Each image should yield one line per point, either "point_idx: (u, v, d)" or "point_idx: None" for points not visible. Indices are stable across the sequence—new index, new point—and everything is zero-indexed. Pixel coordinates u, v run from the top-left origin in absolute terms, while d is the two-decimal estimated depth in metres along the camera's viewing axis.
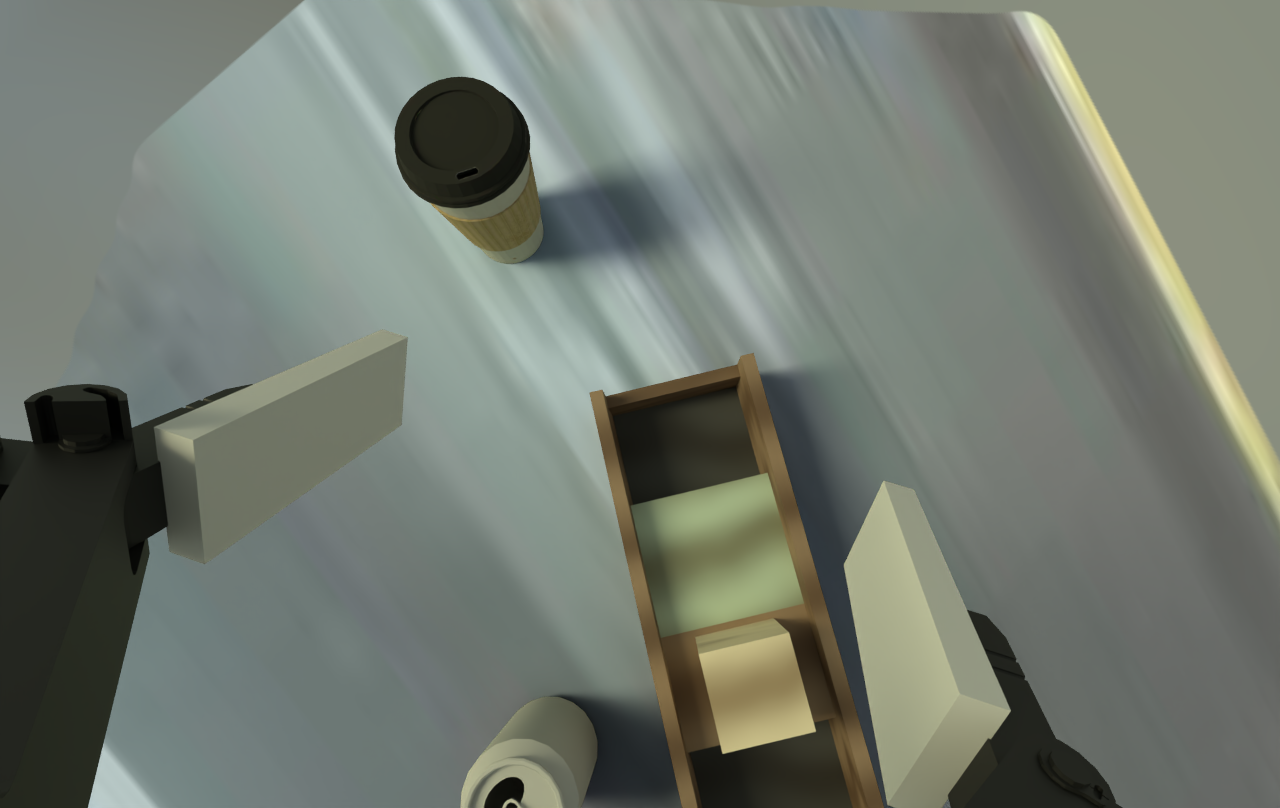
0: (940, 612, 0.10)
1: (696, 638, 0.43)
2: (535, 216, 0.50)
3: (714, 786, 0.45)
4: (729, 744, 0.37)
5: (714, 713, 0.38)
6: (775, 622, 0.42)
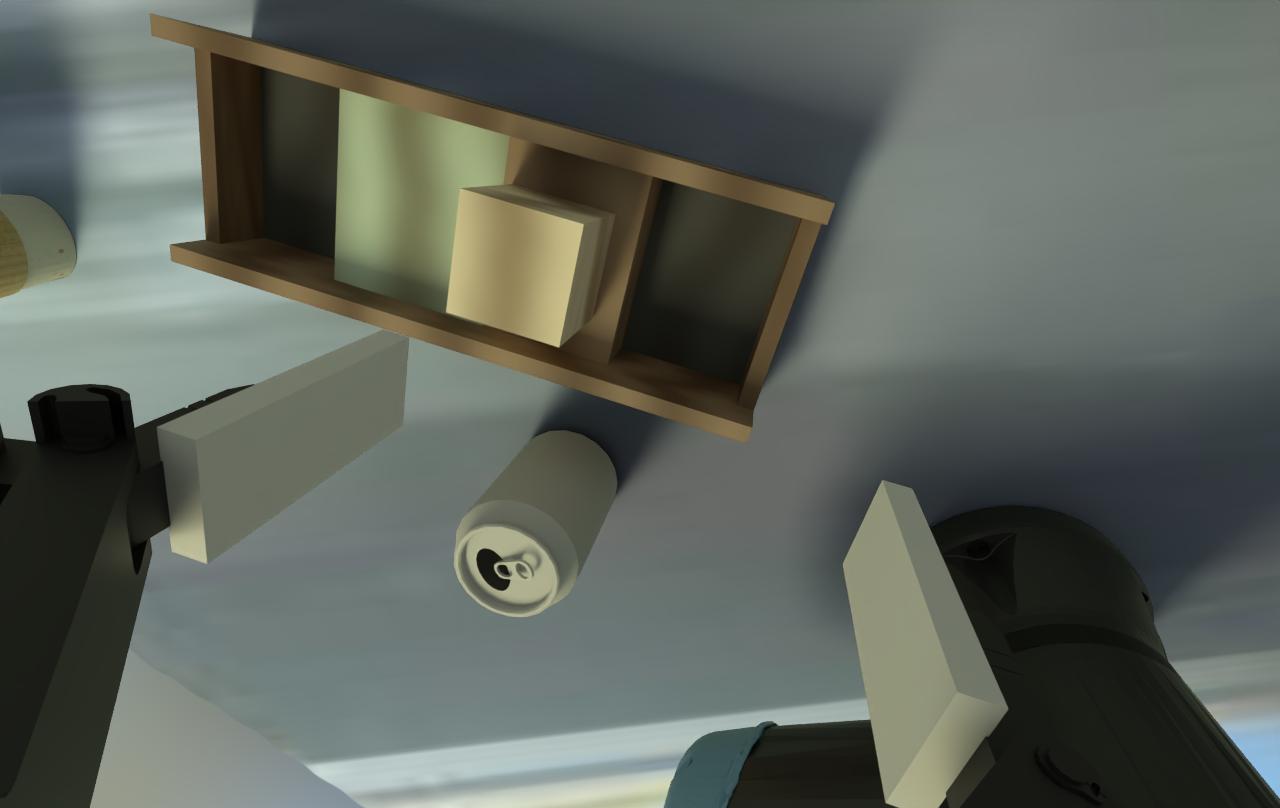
0: (938, 611, 0.10)
1: None
2: None
3: (684, 347, 0.38)
4: (553, 334, 0.29)
5: (514, 331, 0.29)
6: None
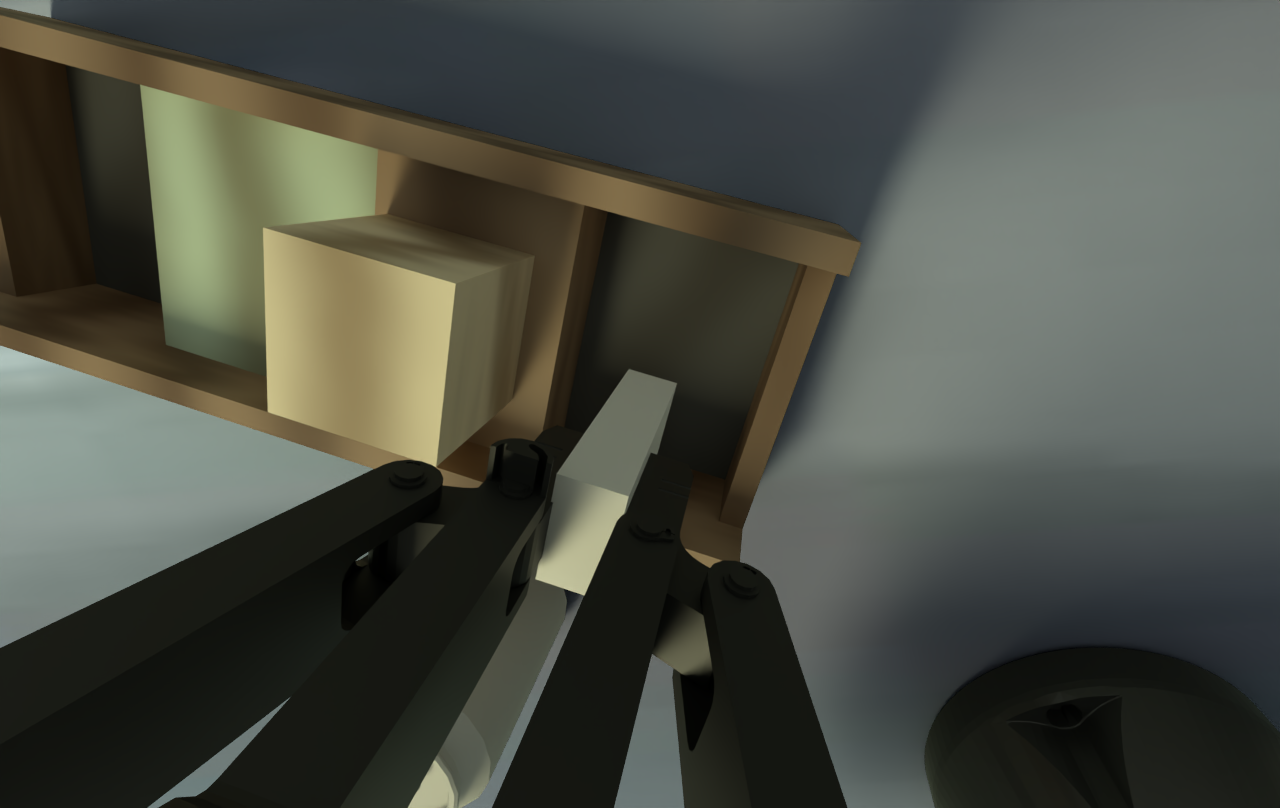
0: (623, 446, 0.13)
1: None
2: None
3: None
4: (425, 447, 0.19)
5: (368, 442, 0.19)
6: None
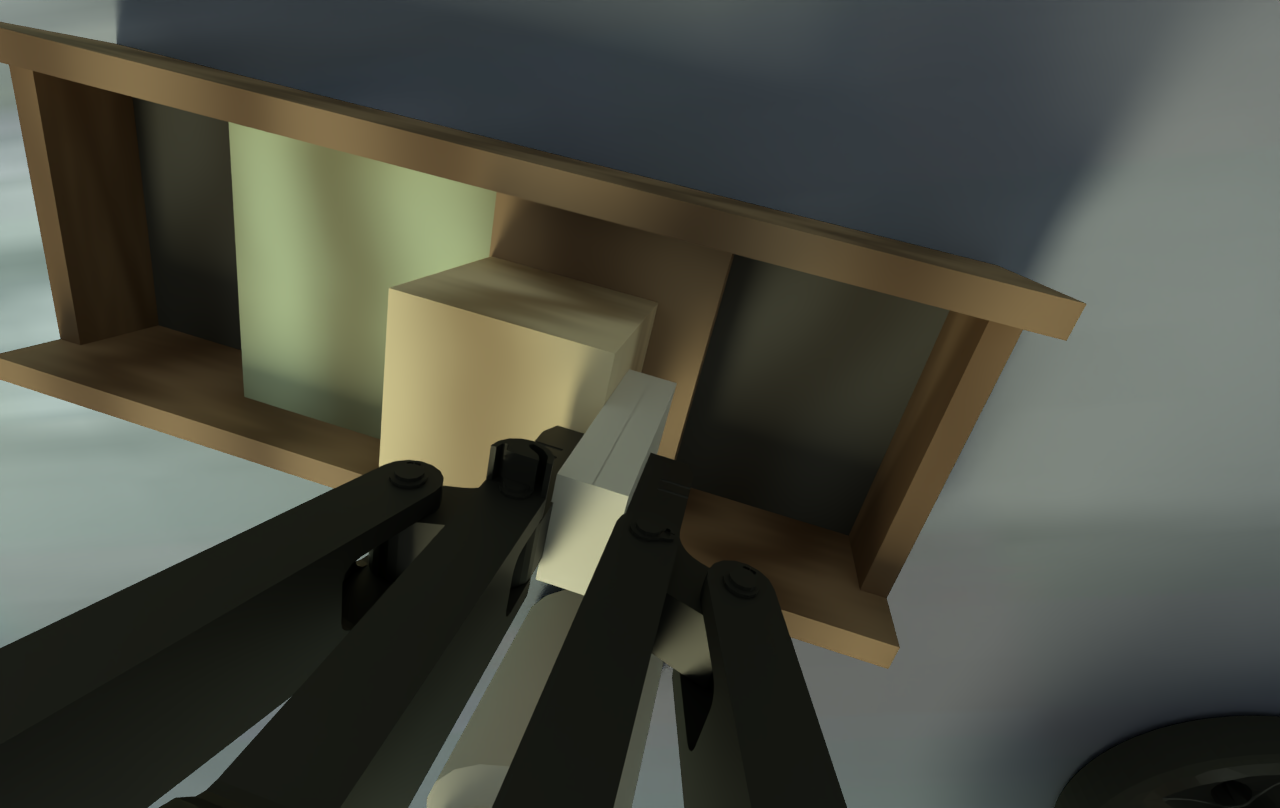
0: (622, 446, 0.13)
1: None
2: None
3: (765, 483, 0.25)
4: None
5: None
6: None
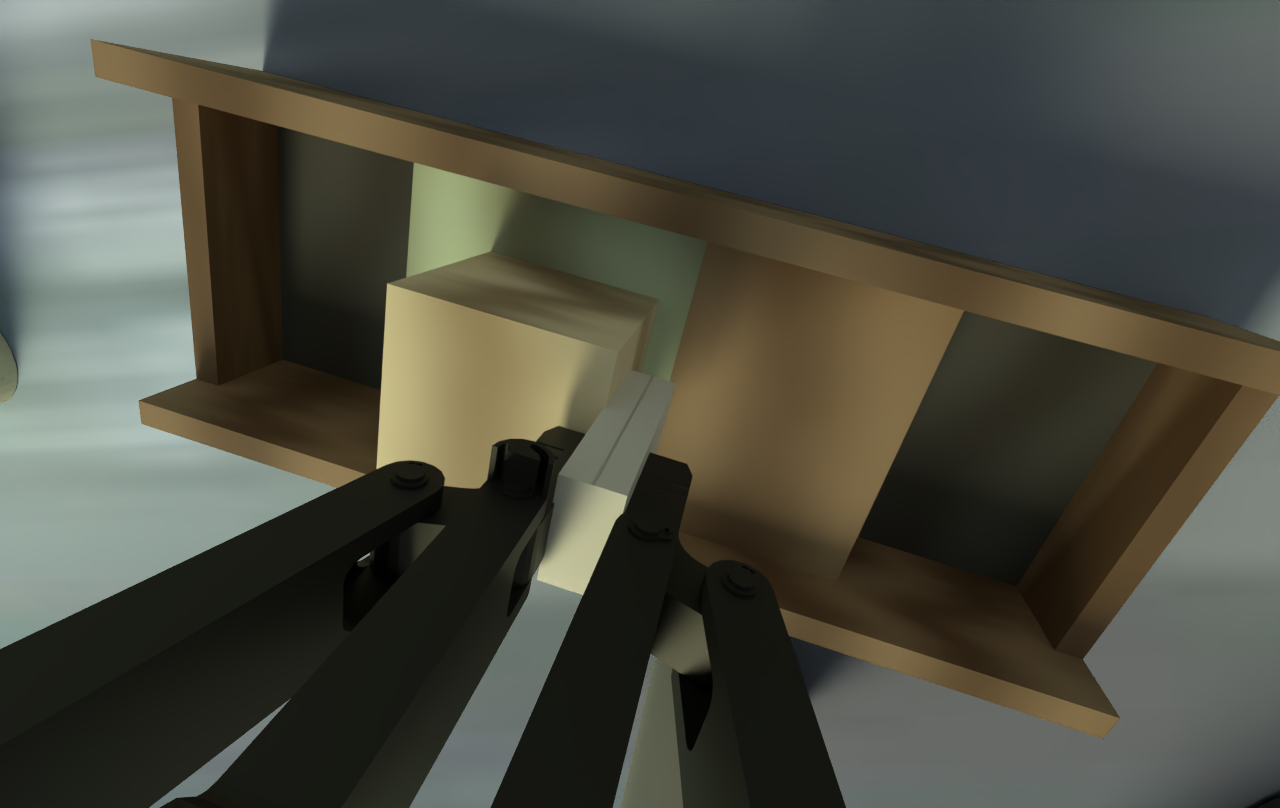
0: (622, 446, 0.13)
1: None
2: None
3: (932, 532, 0.25)
4: None
5: None
6: None
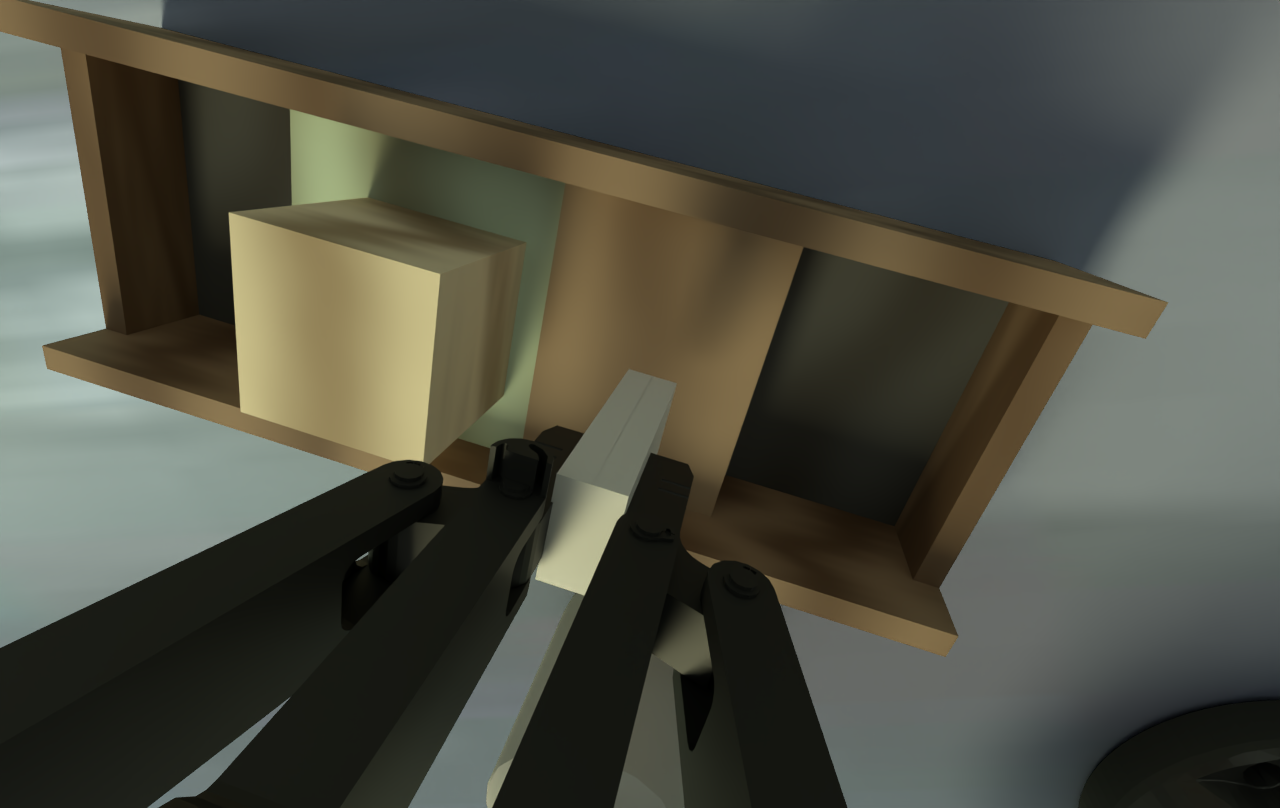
0: (623, 446, 0.13)
1: None
2: None
3: (814, 475, 0.26)
4: (410, 450, 0.17)
5: (349, 444, 0.18)
6: None
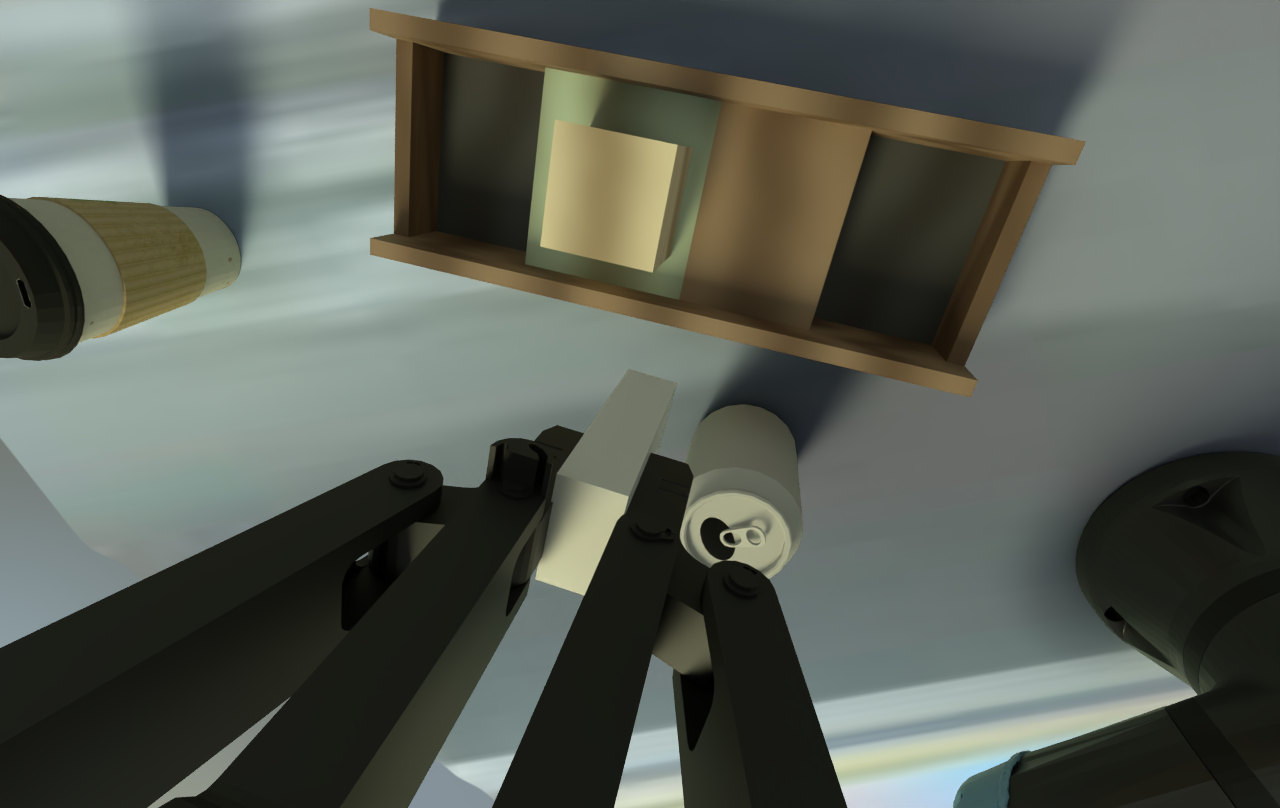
0: (623, 446, 0.13)
1: None
2: (160, 218, 0.40)
3: (874, 311, 0.38)
4: (646, 259, 0.30)
5: (607, 260, 0.30)
6: None
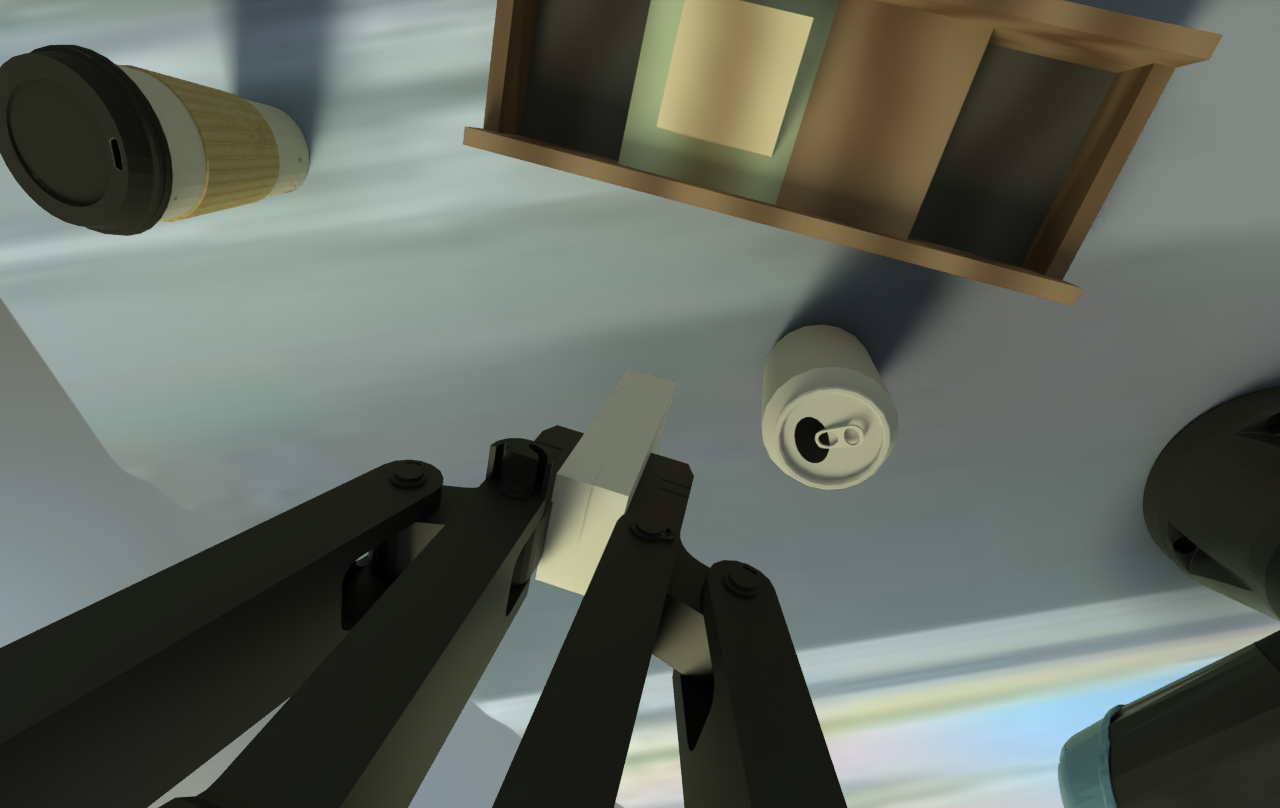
0: (623, 446, 0.13)
1: None
2: (239, 105, 0.39)
3: (965, 229, 0.37)
4: (766, 142, 0.29)
5: (726, 142, 0.30)
6: None
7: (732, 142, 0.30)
